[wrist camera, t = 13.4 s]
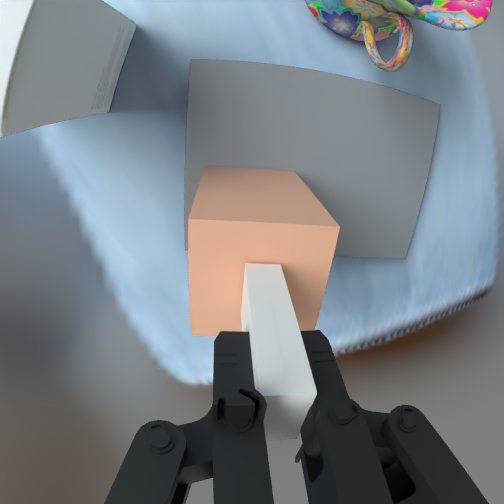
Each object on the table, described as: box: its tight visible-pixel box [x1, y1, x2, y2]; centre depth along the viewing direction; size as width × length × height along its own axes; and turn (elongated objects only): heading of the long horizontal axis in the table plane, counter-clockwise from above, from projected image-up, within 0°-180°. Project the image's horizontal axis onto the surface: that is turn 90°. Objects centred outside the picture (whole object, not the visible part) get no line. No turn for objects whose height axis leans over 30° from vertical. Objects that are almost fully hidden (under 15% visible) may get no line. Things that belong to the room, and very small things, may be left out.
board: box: [184, 60, 440, 259], centre depth 22 cm, size 14×19×2 cm
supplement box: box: [0, 0, 137, 137], centre depth 11 cm, size 7×7×13 cm
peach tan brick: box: [188, 166, 340, 337], centre depth 18 cm, size 6×6×10 cm
